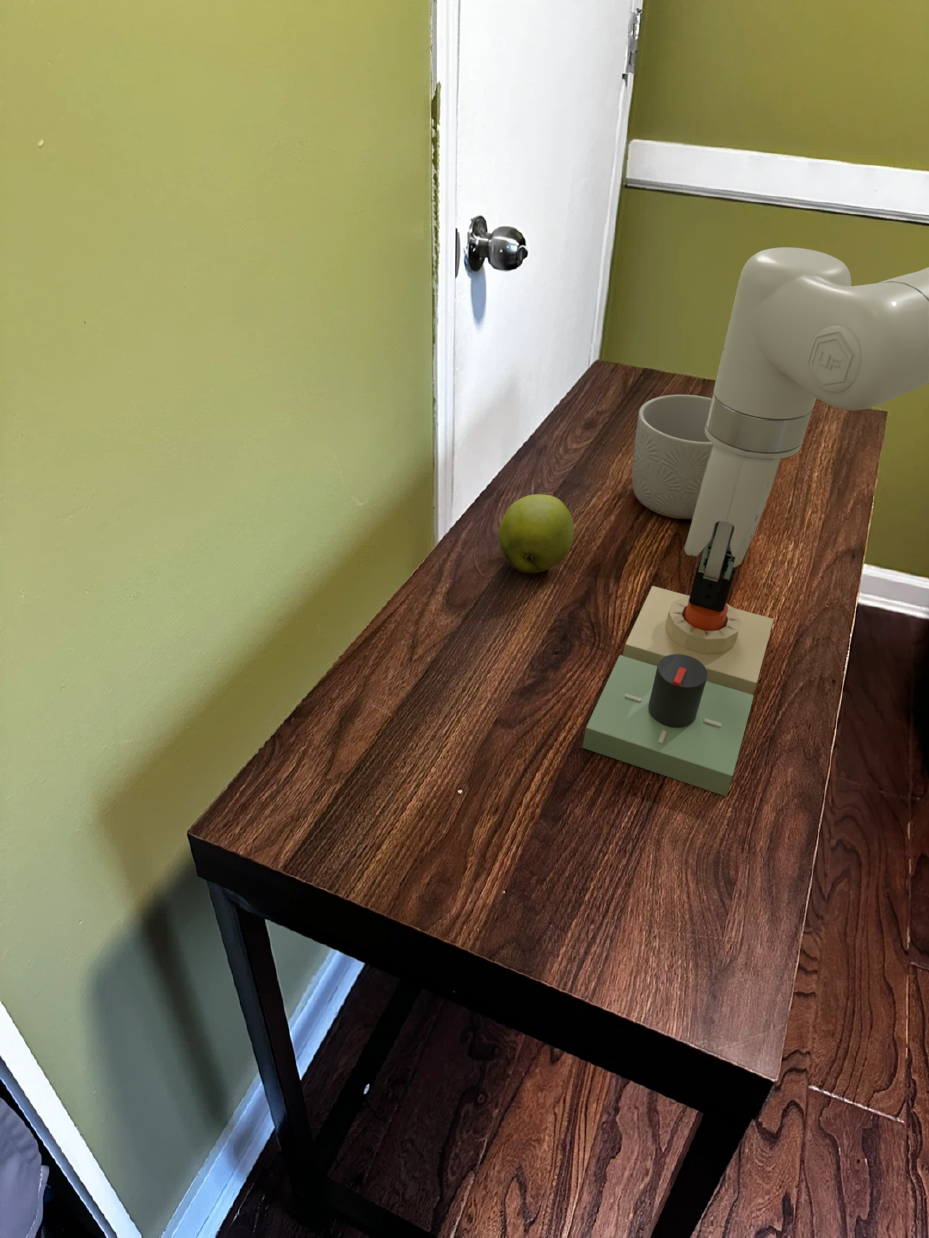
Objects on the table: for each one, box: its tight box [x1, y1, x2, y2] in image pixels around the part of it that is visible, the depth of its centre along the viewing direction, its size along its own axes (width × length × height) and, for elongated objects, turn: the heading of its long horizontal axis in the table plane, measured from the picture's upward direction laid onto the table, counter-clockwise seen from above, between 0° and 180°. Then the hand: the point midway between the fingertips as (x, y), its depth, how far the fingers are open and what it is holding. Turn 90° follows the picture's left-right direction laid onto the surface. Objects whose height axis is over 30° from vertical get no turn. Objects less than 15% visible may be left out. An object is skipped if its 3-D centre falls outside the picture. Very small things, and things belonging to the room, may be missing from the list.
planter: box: [631, 394, 714, 520], centre depth 100 cm, size 12×12×11 cm
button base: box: [622, 585, 774, 695], centre depth 81 cm, size 12×10×4 cm
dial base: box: [582, 654, 755, 797], centre depth 73 cm, size 12×10×3 cm
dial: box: [648, 654, 708, 728], centre depth 70 cm, size 4×4×5 cm
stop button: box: [685, 601, 729, 631], centre depth 79 cm, size 4×4×2 cm
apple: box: [498, 493, 575, 574], centre depth 90 cm, size 8×9×8 cm
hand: (707, 602), depth 79 cm, fingers closed
